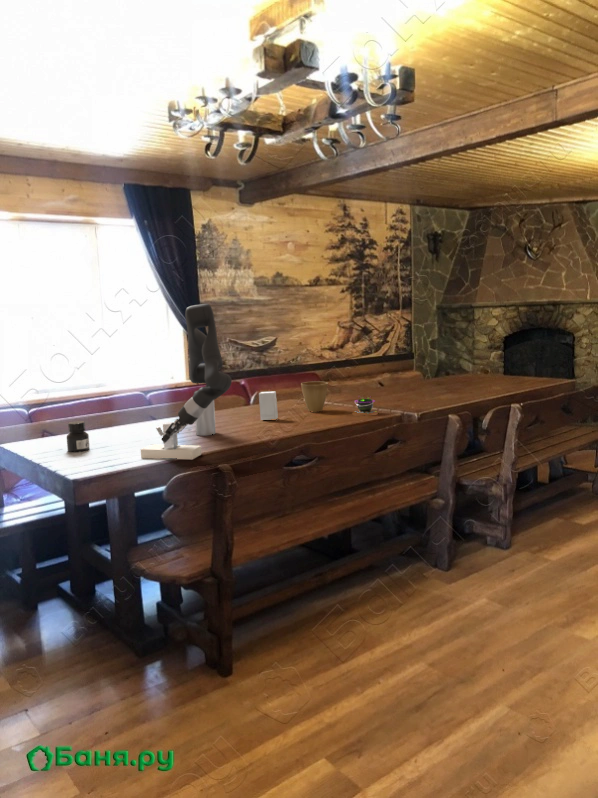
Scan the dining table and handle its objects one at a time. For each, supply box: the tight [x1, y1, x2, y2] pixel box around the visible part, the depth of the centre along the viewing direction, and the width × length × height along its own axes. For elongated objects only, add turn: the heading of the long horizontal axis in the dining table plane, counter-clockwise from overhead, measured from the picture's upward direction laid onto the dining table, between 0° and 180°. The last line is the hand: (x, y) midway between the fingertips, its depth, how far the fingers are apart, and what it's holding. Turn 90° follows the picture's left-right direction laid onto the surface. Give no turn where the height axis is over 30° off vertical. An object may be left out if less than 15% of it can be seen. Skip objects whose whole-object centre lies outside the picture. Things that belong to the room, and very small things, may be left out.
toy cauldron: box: [354, 396, 376, 414], centre depth 339 cm, size 15×15×11 cm
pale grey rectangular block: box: [162, 421, 179, 450], centre depth 252 cm, size 5×4×12 cm
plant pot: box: [300, 381, 329, 413], centre depth 351 cm, size 15×15×16 cm
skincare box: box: [258, 390, 279, 421], centre depth 328 cm, size 8×6×15 cm
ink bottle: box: [66, 420, 90, 453], centre depth 269 cm, size 10×9×12 cm
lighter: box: [155, 425, 164, 444], centre depth 277 cm, size 7×2×8 cm, turn 123°
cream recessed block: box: [140, 444, 202, 461], centre depth 253 cm, size 9×22×4 cm, turn 75°
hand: (166, 439), depth 252 cm, fingers closed on pale grey rectangular block, 5 cm apart
